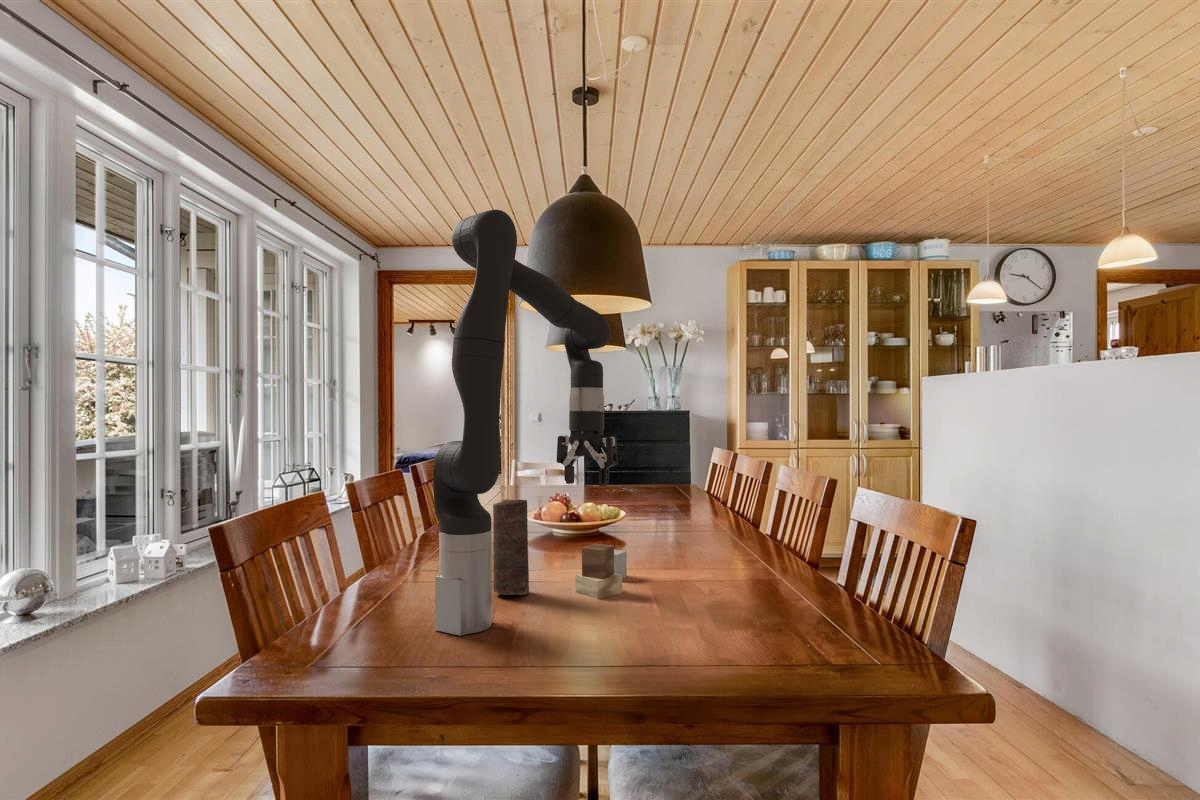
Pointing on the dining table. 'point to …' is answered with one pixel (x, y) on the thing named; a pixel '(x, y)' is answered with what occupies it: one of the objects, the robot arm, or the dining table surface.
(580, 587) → the maple base
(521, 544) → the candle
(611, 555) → the walnut block
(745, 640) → the dining table surface
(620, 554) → the grey block
